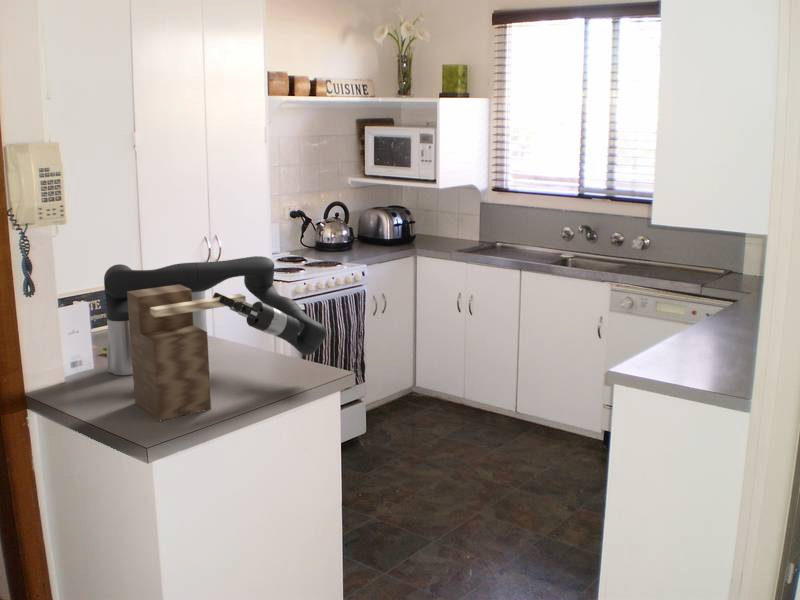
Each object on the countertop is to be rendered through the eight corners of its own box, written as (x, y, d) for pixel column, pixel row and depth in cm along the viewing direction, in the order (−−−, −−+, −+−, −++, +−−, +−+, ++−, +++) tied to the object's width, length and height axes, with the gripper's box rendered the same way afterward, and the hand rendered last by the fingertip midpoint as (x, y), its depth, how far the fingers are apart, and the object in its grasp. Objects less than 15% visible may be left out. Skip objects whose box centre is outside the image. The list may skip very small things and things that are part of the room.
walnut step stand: (185, 392, 247) (179, 284, 240) (211, 409, 234) (205, 295, 226) (135, 403, 238) (126, 291, 231) (158, 421, 225) (150, 303, 218)
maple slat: (240, 300, 240) (239, 293, 240) (245, 303, 237) (245, 296, 237) (150, 314, 225) (149, 307, 224) (155, 317, 222) (154, 310, 222)
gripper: (260, 302, 250) (211, 280, 239) (284, 312, 239) (234, 289, 228) (250, 325, 250) (200, 304, 239) (273, 336, 239) (222, 315, 228)
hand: (217, 297), depth 234 cm, fingers closed on maple slat, 3 cm apart
